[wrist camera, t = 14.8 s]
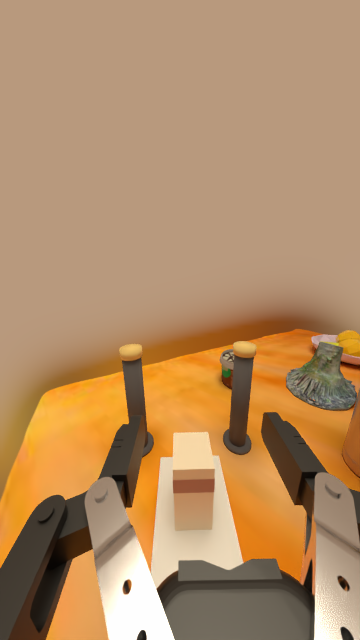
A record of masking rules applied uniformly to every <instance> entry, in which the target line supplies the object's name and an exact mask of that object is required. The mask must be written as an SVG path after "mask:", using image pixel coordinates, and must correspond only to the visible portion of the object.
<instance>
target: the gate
mask: <svg viewBox="0 0 360 640" xmlns="http://www.w3.org/2000/svg"><path fill="white" fill-rule="evenodd" d="M119 352H120V358H121V360H122V363H123V372H124V381H125V390H126V399H127V408H128V416H129V421H130V418H131V416H132V415H143V416H144V425H145V444H144V449H143V454H142V457H143V456H145V455H147V454H148V453H149V452H150V451H151V449H152V447H153V443H154V442H153V437H152V435H151V434H150V433H149V432H147V422H146V410H145V398H144V386H143V374H142V362H141V356H142V346H141V345H139V344H128V345H125V346H122V347H121V348H120V349H119ZM233 353H234V366H233V382H232V397H231V412H230V428H229V429H228V430H226V431H225V433H224V436H223V441H224V444H225V446H226V447H227V448H228V449H229V450H230V451H231V452H233V453H235V454H239V455H243V454H246V453H248V452H249V451H250V449H251V440H250V438H249V436H248V435H247V434H246V432H247V421H248V411H249V400H250V390H251V380H252V369H253V359H254V356H255V355H256V345H255V344H253V343H250V342H245V341H238V342H235V343H234V344H233Z"/></svg>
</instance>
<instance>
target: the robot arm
mask: <svg viewBox="0 0 360 640" xmlns="http://www.w3.org/2000/svg"><path fill="white" fill-rule="evenodd" d="M261 433H262V438H263V441H264V443H265V445H266V447H267V449H268V451H269V453H270V456H271V458H272V460H273V462H274V464H275V466H276V468H277V470H278V472H279V474H280V476H281V478H282V480H283V482H284V484H285V486H286V488H287V490H288V492H289V495H290V497H291V499H292V501H293V503H294V505H303V507H304V508H305V510H306V516H305V532H304V549H303V563H302V570H301V577H300V582H299V581H298V580H296V579H295V578H293V577H292V576H291V575H289V574H287V573H286V572H284V571H282V570H279V567H278V564H277V561H276V559H251V560H249V561H247V562H245V563H243V564H241V565H239V566H237V567H235V568H233V569H231V570H227V569H224V568H221V567H219V566H216V565H214V564H211V563H209V562H206V561H204V560H178V570H177V571H175V572H173V573H172V574H171V575H169V576H168V577H167V578H166V579H165V580H164V581H163V582H162V583H161V584H160V585H159V586H158V588H157V589H156V588H155V585H154V583H153V580H152V577H151V574H150V572H149V569H148V566H147V563H146V561H145V558H144V555H143V552H142V550H141V547H140V544H139V541H138V539H137V536H136V533H135V531H134V528H133V526H132V525H131V524H130V521H129V519H128V516H127V513H126V510H125V509H126V507H132V504H133V499H134V494H135V489H136V484H137V479H138V474H139V469H140V464H141V459H142V454H143V449H144V444H145V425H144V416H143V415H132V416H131V418H130V421H129V424H123V425H122V426H121V427H120V429H119V430H118V431H117V433H116V435H115V438H114V441H113V443H112V446H111V448H110V451H109V453H108V456H107V459H106V461H105V464H104V466H103V469H102V472H101V474H100V476H99V478H98V480H97V481H96V482H95V483H94V484H92V486H91V487H90V488H89V490H88V491H86V492H85V493H83V494H81V495H78V496H75V497H73V498H70V499H68V500H65V499H64V498H63V497H62V496H61V495H53V496H51V497H49V498H47V499H45V500H44V501H42V502H41V503H40V504H39V505H38V506H37V507H36V508H35V509H34V511H33V512H32V514H31V515H30V517H29V519H28V520H27V522H26V524H25V526H24V528H23V529H22V531H21V533H20V535H19V536H18V538H17V540H16V542H15V543H14V545H13V547H12V549H11V551H10V552H9V554H8V556H7V558H6V559H5V561H4V563H3V565H2V567H1V568H0V640H46V637H47V634H48V631H49V628H50V625H51V622H52V619H53V616H54V613H55V610H56V607H57V604H58V601H59V598H60V595H61V592H62V589H63V586H64V583H65V580H66V577H67V574H68V571H69V568H70V565H71V562H72V559H73V558H75V557H77V556H79V555H81V554H83V553H85V552H87V551H89V550H91V549H93V551H94V557H95V566H96V572H97V577H98V582H99V588H100V593H101V599H102V604H103V609H104V615H105V620H106V626H107V631H108V636H109V640H360V492H358V491H355V490H352V489H349V488H347V486H346V485H345V484H344V483H343V482H342V481H340V480H339V479H338V478H336V477H335V476H333V475H331V474H329V473H328V472H327V471H326V470H325V468H324V467H323V466H322V464H321V463H320V461H319V460H318V459H317V457H316V456H315V455H314V453H313V452H312V450H311V449H310V448H309V446H308V445H307V444H306V442H305V441H304V439H303V438H301V435H300V434H299V433H298V431H297V430H296V428H295V427H293V426H292V425H291V424H290V423H289V422H287V421H283V420H282V419H281V417H280V416H279V414H278V413H276V412H267V413H264V414H263V421H262V429H261ZM342 455H343V458H344V460H345V462H346V464H347V465H348V466H349V467H350V469H351V470H352V471H353V472H354V473H355V474H356V475H358V476H359V477H360V389H359V393H358V397H357V401H356V404H355V408H354V411H353V415H352V418H351V422H350V425H349V429H348V433H347V436H346V440H345V443H344V447H343V450H342Z"/></svg>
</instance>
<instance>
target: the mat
mask: <svg viewBox="0 0 360 640" xmlns="http://www.w3.org/2000/svg"><path fill="white" fill-rule="evenodd" d="M213 462H214V467H215V488H214V501H213V525H212V530H182V531H175V515H174V493H173V457H161V460H160V472H159V483H158V495H157V506H156V518H155V529H154V540H153V552H152V563H151V577H152V580H153V583H154V585H155V588H156V589H157V588H158V586H159V585H160V584H161V583H162V582H163V581H164V580H165V579H166V578H167V577H168V576H169V575H171V574H172V573H173V572H175V571H177V570H178V560H204V561H206V562H209V563H211V564H214V565H216V566H219V567H221V568H224V569H227V570H231V569H233V568H235V567H237V566H239V565H241V564H243V560H242V556H241V551H240V547H239V542H238V538H237V534H236V529H235V525H234V521H233V516H232V512H231V507H230V503H229V499H228V494H227V490H226V486H225V481H224V477H223V473H222V468H221V464H220V459H219V456H213Z"/></svg>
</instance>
